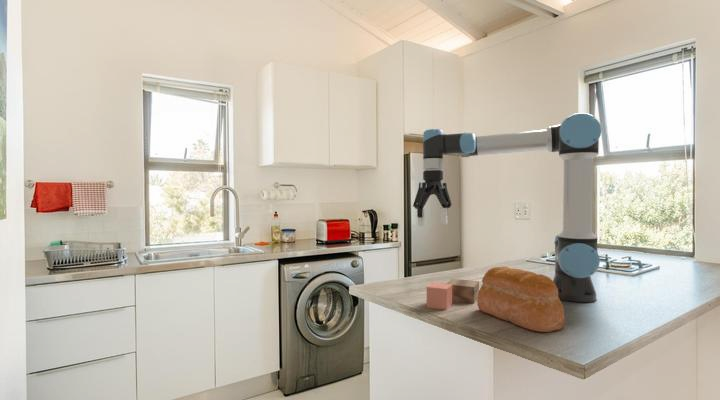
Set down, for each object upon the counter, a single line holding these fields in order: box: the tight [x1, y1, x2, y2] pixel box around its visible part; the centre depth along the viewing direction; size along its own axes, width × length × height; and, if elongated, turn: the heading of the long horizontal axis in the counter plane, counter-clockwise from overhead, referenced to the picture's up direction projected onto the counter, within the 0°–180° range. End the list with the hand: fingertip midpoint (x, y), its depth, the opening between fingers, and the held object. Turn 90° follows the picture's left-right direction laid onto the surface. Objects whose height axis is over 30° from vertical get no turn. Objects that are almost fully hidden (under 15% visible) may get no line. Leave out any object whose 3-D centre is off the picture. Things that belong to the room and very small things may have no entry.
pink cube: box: [426, 282, 453, 311], centre depth 135 cm, size 7×7×7 cm
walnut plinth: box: [446, 278, 480, 304], centre depth 144 cm, size 10×10×6 cm
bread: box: [476, 266, 566, 333], centre depth 121 cm, size 14×26×15 cm, turn 25°
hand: (433, 225), depth 151 cm, fingers open, 13 cm apart
